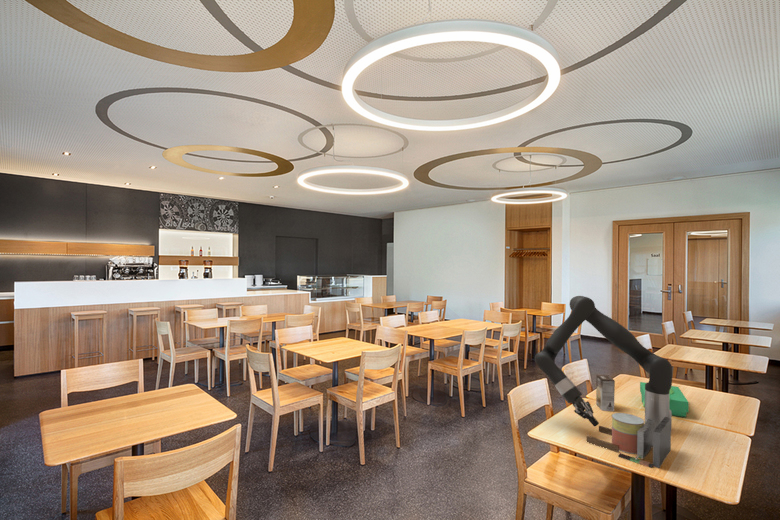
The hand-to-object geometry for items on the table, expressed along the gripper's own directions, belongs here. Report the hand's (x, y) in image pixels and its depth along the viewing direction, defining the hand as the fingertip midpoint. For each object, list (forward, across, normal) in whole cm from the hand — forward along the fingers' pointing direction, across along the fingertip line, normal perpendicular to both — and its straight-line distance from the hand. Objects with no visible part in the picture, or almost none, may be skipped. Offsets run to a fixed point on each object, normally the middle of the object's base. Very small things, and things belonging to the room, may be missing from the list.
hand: (596, 425), depth 166 cm
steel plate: (+16, -1, -10) cm, 19 cm away
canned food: (+12, 0, -4) cm, 13 cm away
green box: (+13, +62, -5) cm, 64 cm away
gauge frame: (+12, -1, -4) cm, 13 cm away
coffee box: (-2, +41, +10) cm, 42 cm away
